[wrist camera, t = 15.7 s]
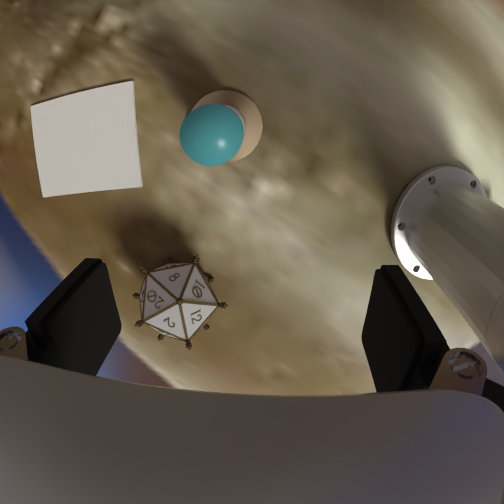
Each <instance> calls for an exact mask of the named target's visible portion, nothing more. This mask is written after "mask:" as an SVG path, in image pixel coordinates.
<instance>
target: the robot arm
mask: <svg viewBox="0 0 504 504" xmlns="http://www.w3.org/2000/svg"><path fill="white" fill-rule="evenodd" d="M428 179H429V180H428ZM399 223H400V224H399ZM398 224H399V225H398ZM391 242H392V247H393V250H394V252H395V255H396V257H397V258H398V260H399V261H400V263H401V264H402V265H403V267H404V268H405V269H406V270H407V271H408V272H410V273H411V274H412V275H414V276H417V277H419V278H422V279H428V280H432V279H433V280H434V281H435V282H436V283H437V285H438V286H439V287H440V288H441V290H442V291H443V292H444V293H445V295H446V296H447V297H448V298H449V300H450V301H451V302H452V303H453V305H454V306H455V307H456V309H457V310H458V311H459V313H460V314H461V315H462V316H463V318H464V319H465V320H466V322H467V323H468V325H469V326H470V327H471V329H472V330H473V331H474V333H475V334H476V335H477V337H478V338H479V340H480V341H481V343H482V344H483V345H484V347H485V348H486V350H487V351H488V353H489V354H490V355H491V357H492V358H493V360H494V361H495V363H496V364H497V365H498V366H499V367H500V369H501V370H502V371H503V372H504V208H502V207H501V206H499V205H497V204H496V203H494V202H492V201H491V200H489V199H487V195H486V193H485V190H484V188H483V186H482V185H481V183H480V182H479V180H478V179H477V178H476V177H475V176H474V175H473V174H472V173H470V172H468V171H466V170H464V169H462V168H459V167H457V166H451V165H442V166H436V167H433V168H431V169H428V170H426V171H424V172H423V173H421V174H420V175H418V176H417V177H416V178H415V179H414V180H413V181H412V182H410V183H409V185H408V186H407V187H406V189H405V190H404V191H403V193H402V194H401V196H400V198H399V200H398V202H397V204H396V207H395V210H394V212H393V216H392V222H391ZM25 323H26V325H27V327H28V331H27V332H26V333H25V331H24V330H23V329H22V328H20V327H9V328H6V329H3V330H2V331H0V504H504V387H503V386H502V385H499V384H497V383H495V382H493V381H491V380H489V379H487V378H486V376H487V366H486V363H485V361H484V360H483V359H482V357H480V356H479V355H478V354H477V353H475V352H473V351H471V350H469V349H466V348H454V349H451V350H450V348H449V346H448V345H447V343H446V340H445V338H444V336H443V334H442V333H441V331H440V329H439V328H438V326H437V324H436V323H435V321H434V319H433V318H432V316H431V314H430V313H429V311H428V310H427V308H426V306H425V305H424V303H423V302H422V300H421V298H420V297H419V295H418V294H417V292H416V291H415V289H414V288H413V286H412V284H411V283H410V281H409V280H408V278H407V277H406V275H405V274H404V272H403V271H402V269H401V268H400V267H399V266H398V265H382V266H381V268H380V269H377V270H376V271H375V275H374V280H373V285H372V290H371V295H370V300H369V304H368V309H367V313H366V318H365V322H364V326H363V331H362V343H363V347H364V350H365V353H366V356H367V360H368V363H369V367H370V370H371V373H372V377H373V380H374V384H375V388H376V391H377V392H376V393H362V394H343V395H254V394H234V393H219V392H206V391H195V390H185V389H176V388H168V387H160V386H153V385H146V384H139V383H132V382H126V381H120V380H114V379H108V378H103V377H98V376H96V375H97V373H98V371H99V369H100V367H101V365H102V364H103V362H104V360H105V358H106V356H107V355H108V353H109V351H110V349H111V348H112V346H113V344H114V342H115V341H116V339H117V337H118V335H119V334H120V332H121V321H120V317H119V313H118V310H117V306H116V302H115V298H114V295H113V291H112V287H111V282H110V278H109V274H108V270H107V266H106V264H105V263H103V262H102V260H101V259H95V258H86V259H84V260H83V261H82V262H81V263H80V264H79V265H78V266H77V267H76V268H75V269H74V270H73V271H72V272H71V273H70V274H69V275H68V276H67V277H66V278H65V279H64V280H63V281H62V282H61V283H60V284H59V285H58V286H57V287H56V288H55V289H54V290H53V291H52V292H51V293H50V295H49V296H48V297H47V298H46V299H45V300H44V301H43V302H42V303H41V304H40V305H39V306H38V307H37V308H36V310H35V311H34V312H33V313H32V314H31V315H30V316H29V317H28V318H27V320H26V321H25Z"/></svg>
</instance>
